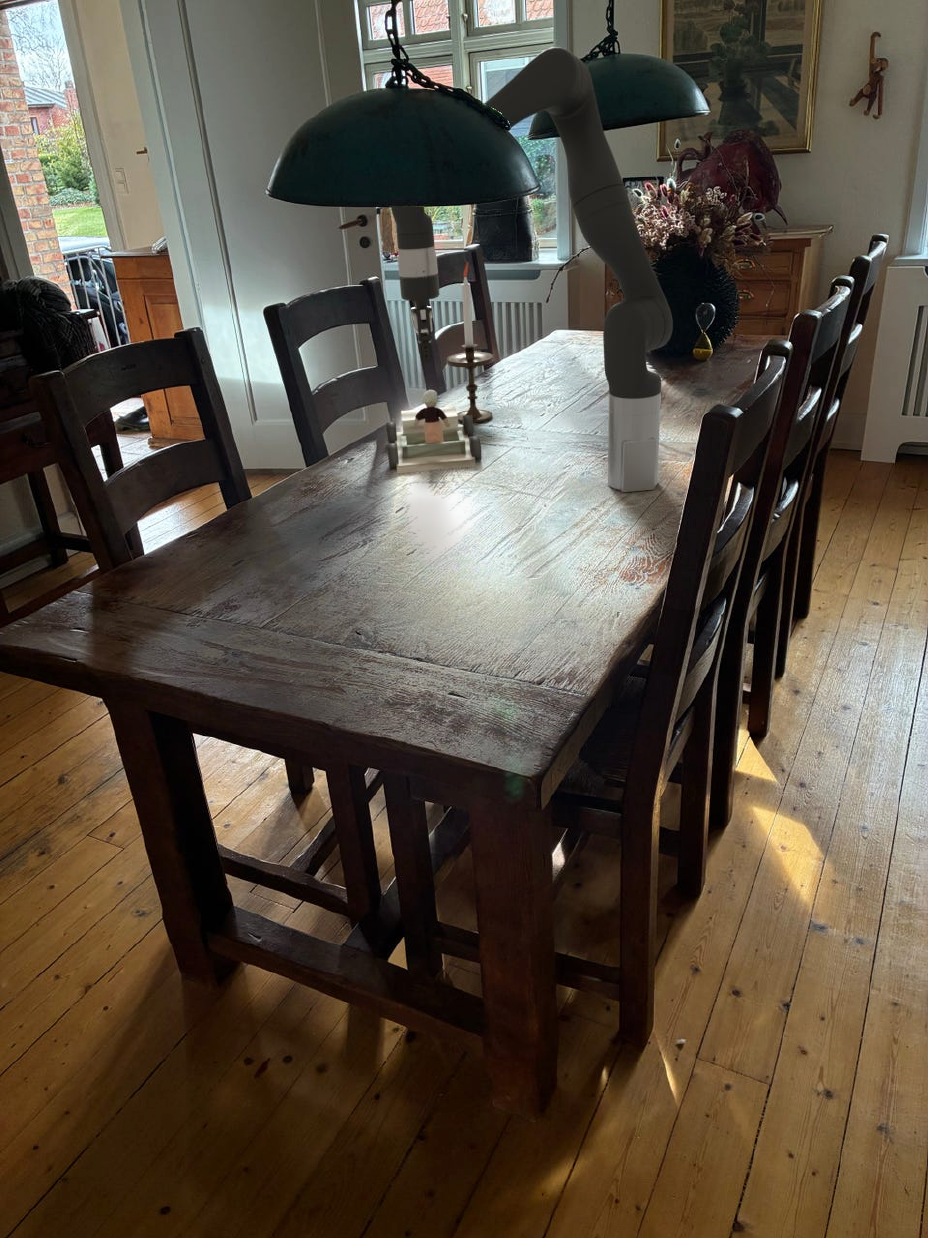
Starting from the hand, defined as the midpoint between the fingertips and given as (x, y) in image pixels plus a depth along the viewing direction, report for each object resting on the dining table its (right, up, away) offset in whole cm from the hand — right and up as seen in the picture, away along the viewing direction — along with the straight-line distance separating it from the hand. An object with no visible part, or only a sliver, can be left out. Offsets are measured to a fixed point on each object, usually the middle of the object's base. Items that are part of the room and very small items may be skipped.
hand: (425, 357), depth 185 cm
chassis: (+1, -17, +12) cm, 21 cm away
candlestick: (+10, -5, +33) cm, 35 cm away
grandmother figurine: (+1, -17, +9) cm, 19 cm away
